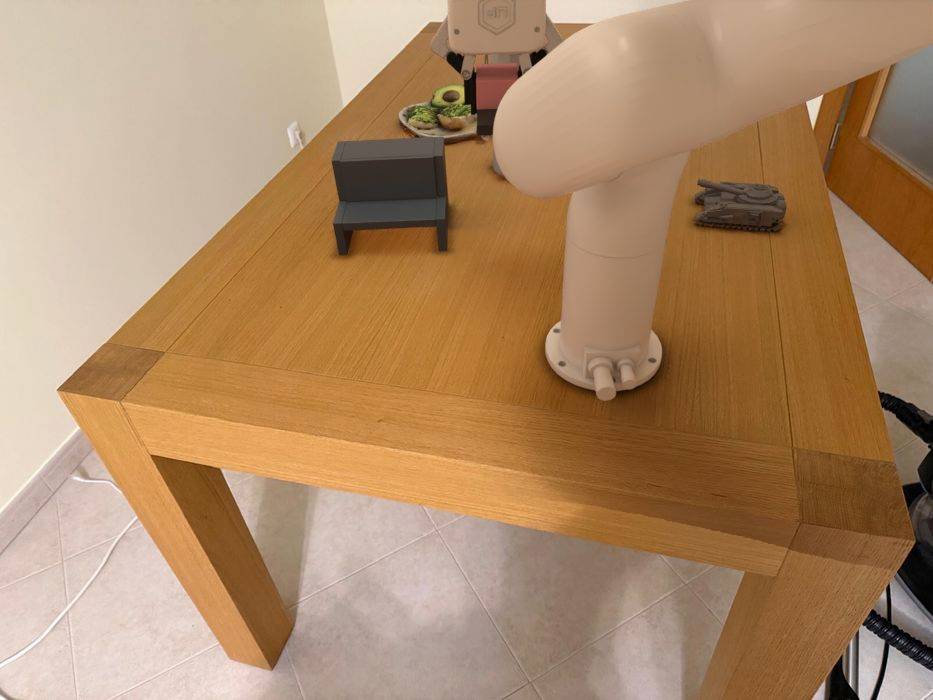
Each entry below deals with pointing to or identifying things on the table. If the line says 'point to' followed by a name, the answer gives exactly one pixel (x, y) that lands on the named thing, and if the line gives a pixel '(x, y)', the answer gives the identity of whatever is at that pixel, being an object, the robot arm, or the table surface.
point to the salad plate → (441, 116)
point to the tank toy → (740, 205)
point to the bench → (390, 187)
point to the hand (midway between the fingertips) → (496, 107)
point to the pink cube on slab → (492, 92)
